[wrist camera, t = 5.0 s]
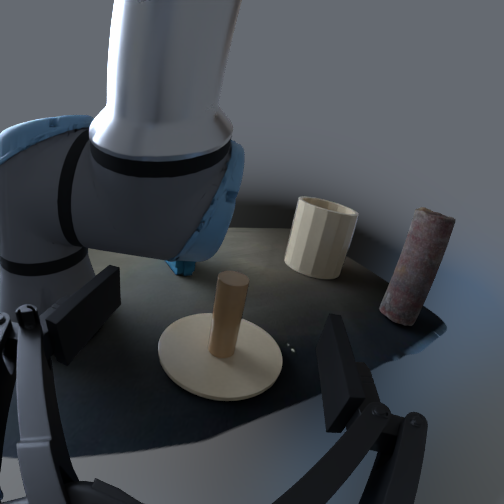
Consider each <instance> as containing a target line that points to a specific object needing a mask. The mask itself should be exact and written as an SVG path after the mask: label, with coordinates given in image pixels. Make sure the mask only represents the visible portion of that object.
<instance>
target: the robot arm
mask: <svg viewBox="0 0 504 504" xmlns="http://www.w3.org/2000/svg"><path fill="white" fill-rule="evenodd" d="M241 1H242V0H115V1H114V8H113V15H112V23H111V32H110V44H109V57H108V79H107V105H106V107H105V108H104V109H103V110H102V111H101V112H100V113H99V114H98V115H97V117H96V118H95V119H94V118H93V117H91V116H88V115H67V116H58V117H54V118H43V119H39V120H33V121H29V122H25V123H21V124H18V125H15V126H12V127H9V128H7V129H6V130H4V131H3V132H1V134H0V267H1V272H0V471H1V463H2V453H3V444H4V436H5V429H6V423H7V418H8V412H9V407H10V402H11V398H12V394H13V389H14V385H15V381H16V378H17V408H18V421H19V430H20V442H17V454H18V460H19V466H20V471H21V476H22V480H23V485H24V489H25V493H26V497H22V498H19V499H15V500H11V501H7V502H3V503H1V500H2V499H3V492H2V491H1V488H0V504H143V503H141V502H139V501H138V500H136V499H134V498H133V497H131V496H130V495H128V494H126V493H125V492H124V491H122V490H121V489H119V488H116V487H114V486H112V485H110V484H107V483H105V482H103V481H101V480H99V479H96V478H95V480H94V482H88V481H79V479H78V477H77V475H76V473H75V471H74V469H73V467H72V463H71V460H70V456H69V453H68V449H67V445H66V442H65V438H64V433H63V429H62V424H61V420H60V415H59V409H58V404H57V398H56V391H55V384H54V377H53V368H52V360H51V356H52V355H53V353H54V354H55V357H56V360H57V361H58V362H60V363H62V364H64V365H66V366H68V365H69V364H70V362H71V361H72V360H73V359H74V358H75V356H76V355H77V354H78V353H79V352H80V350H81V349H82V348H83V347H84V346H85V344H86V343H87V342H88V341H89V340H90V339H91V338H93V337H94V336H95V335H96V334H97V333H98V332H99V330H100V329H101V328H102V326H103V324H104V322H105V321H106V320H107V319H108V318H109V317H110V316H111V315H112V313H113V312H114V311H115V310H116V309H117V308H118V307H119V306H120V305H121V298H120V267H116V266H112V265H109V266H108V267H106V268H105V269H104V270H103V271H101V272H100V273H99V274H98V275H96V276H95V273H94V270H93V268H92V265H91V262H90V259H89V256H88V248H91V249H97V250H103V251H109V252H116V253H122V254H128V255H135V256H141V257H148V258H154V259H161V260H167V261H169V262H174V261H177V260H179V261H194V262H201V261H205V260H208V259H209V258H211V257H212V256H213V255H214V254H215V253H216V252H217V251H218V249H219V247H220V246H221V244H222V242H223V240H224V237H225V235H226V233H227V230H228V227H229V224H230V221H231V219H232V215H233V212H234V208H235V198H236V197H237V194H238V191H239V188H240V185H241V181H242V175H243V169H244V149H243V148H242V146H241V145H240V144H238V143H236V142H235V141H232V140H231V137H232V132H233V126H232V123H231V121H230V119H229V118H228V117H227V116H226V115H225V113H224V112H223V111H222V110H221V109H220V107H219V106H218V102H219V97H220V92H221V87H222V82H223V77H224V73H225V68H226V63H227V58H228V54H229V50H230V46H231V41H232V37H233V33H234V29H235V24H236V21H237V17H238V13H239V8H240V5H241ZM316 354H317V361H318V369H319V376H320V383H321V391H322V399H323V407H324V416H325V424H326V432H332V433H341V432H342V431H343V429H344V428H345V427H346V429H347V431H346V432H345V433H344V435H343V436H342V437H341V438H340V439H339V440H338V441H337V442H336V443H335V445H334V446H333V447H332V448H331V449H330V450H329V451H328V452H327V453H326V454H325V455H324V456H323V457H322V458H321V459H320V460H319V461H318V462H317V463H316V464H315V465H314V466H313V467H312V468H311V469H310V470H309V471H308V472H307V473H306V474H305V475H304V476H303V477H302V478H301V479H300V480H299V481H298V482H297V483H295V484H294V485H293V486H292V487H291V488H290V489H289V490H288V491H286V492H285V493H284V494H283V495H282V496H281V497H279V498H278V499H277V500H276V501H275V502H273V503H272V504H326V502H327V501H328V500H329V499H330V498H331V497H332V496H333V495H334V494H335V493H336V491H337V490H338V489H339V488H340V487H341V485H342V484H343V483H344V482H345V481H346V480H347V478H348V477H349V476H350V475H351V473H352V472H353V471H354V470H355V468H356V467H357V466H358V465H359V463H360V462H361V461H362V459H363V458H364V457H365V455H366V454H367V453H368V451H369V450H373V451H377V452H378V453H377V456H376V459H375V462H374V465H373V468H372V471H371V473H370V476H369V479H368V482H367V484H366V487H365V489H364V492H363V494H362V497H361V499H360V502H359V504H414V500H415V496H416V492H417V488H418V483H419V479H420V474H421V469H422V463H423V457H424V451H425V444H426V436H427V427H428V424H427V421H426V418H425V417H424V416H423V415H421V414H419V413H417V412H411V413H409V414H407V416H406V417H405V418H404V417H400V416H397V415H393V414H391V412H390V410H389V408H388V407H387V406H386V405H385V404H382V403H381V402H380V399H379V396H378V393H377V390H376V387H375V384H374V380H373V378H372V374H371V371H370V369H369V368H368V367H367V365H366V364H365V363H362V362H355V358H354V355H353V352H352V348H351V345H350V342H349V339H348V336H347V332H346V329H345V326H344V323H343V320H342V317H341V315H335V314H329V316H328V318H327V321H326V324H325V326H324V329H323V331H322V334H321V336H320V339H319V341H318V344H317V346H316Z"/></svg>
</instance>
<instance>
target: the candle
mask: <svg viewBox="0 0 504 504" xmlns="http://www.w3.org/2000/svg"><path fill="white" fill-rule="evenodd" d="M454 224H455V219H454V218H452V217H447V216H445V215H442V214H440V213H437V212H433V211H431V210H429V209H426V208H424V207H421V208H419V209H416V210H415V213H414V216H413V220H412V223H411V226H410V229H409V232H408V235H407V238H406V241H405V244H404V246H403V249H402V252H401V255H400V258H399V261H398V263H397V266H396V268H395V271H394V273H393V276H392V278H391V281H390V283H389V285H388V288H387V290H386V293H385V295H384V297H383V300H382V302H381V304H380V311H381V313H383V314H384V315H385V316H387V317H388V318H389V319H390V320H392V321H393V322H395V323H399V324H403V325H405V326H406V325H408V326H412V325H413V324H414V323H415V321H416V319H417V317H418V315H419V313H420V311H421V309H422V306H423V304H424V302H425V300H426V298H427V295H428V293H429V291H430V288H431V286H432V283H433V281H434V279H435V276H436V274H437V271H438V269H439V266H440V263H441V261H442V258H443V255H444V252H445V250H446V247H447V245H448V242H449V239H450V236H451V233H452V230H453V227H454Z"/></svg>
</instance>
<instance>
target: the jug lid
mask: <svg viewBox="0 0 504 504" xmlns="http://www.w3.org/2000/svg"><path fill="white" fill-rule="evenodd" d="M249 282H250V281H249V278H248V277H247V276H246V275H244V274H242V273H240V272H236V271H223V272H221V273H219V275H218V278H217V285H216V292H215V298H214V305H213V312H212V313H203V314H195V315H190V316H187V317H184V318H181V319H179V320H177V321H175V322H174V323H172V324H171V325H169V326H168V327H167V328H166V329H165V331H164V332H163V333H162V335H161V337H160V340H159V344H158V355H159V360H160V363H161V366H162V367H163V369H164V371H165V372H166V374H167V375H168V376H169V377H170V378H171V379H172V380H173V381H174V382H175V383H176V384H178V385H179V386H180V387H182V388H183V389H185V390H187V391H189V392H190V393H193V394H195V395H198V396H201V397H204V398H207V399H212V400H219V401H237V400H244V399H248V398H251V397H254V396H257V395H259V394H261V393H263V392H264V391H266V390H267V389H269V388H270V387H271V386H272V385H273V384H274V383H275V381H276V380H277V378H278V377H279V375H280V372H281V369H282V363H283V360H282V354H281V351H280V348H279V346H278V345H277V343H276V342H275V340H274V339H273V338H272V337H271V336H270V335H269V334H268V333H267V332H266V331H264V330H263V329H262V328H260V327H258V326H257V325H255V324H253V323H251V322H249V321H246V320H244V319H242V315H243V310H244V306H245V301H246V296H247V291H248V287H249Z"/></svg>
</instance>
